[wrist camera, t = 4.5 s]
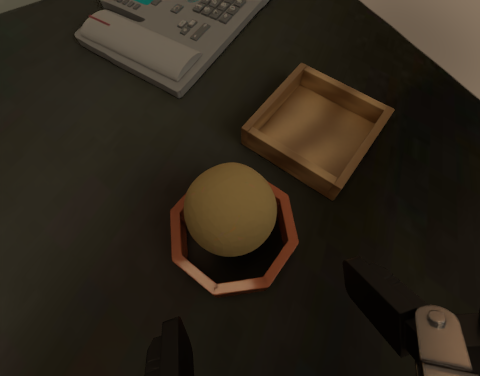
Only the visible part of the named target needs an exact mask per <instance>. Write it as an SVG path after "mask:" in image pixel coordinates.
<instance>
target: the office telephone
mask: <svg viewBox="0 0 480 376" xmlns="http://www.w3.org/2000/svg"><path fill="white" fill-rule="evenodd" d="M100 1H101V4H102V6H103V8H105V10H101V11H98V12H96V13H94V14H93V15H89V18H88V19H87V20H86V21H85V23H84V24H83V26H82V27H81V28H80V29H78V30H77V31H76V32H75V36H76V38H77V40H78V42H79V43H80V45H82V46H83V47H85V48H87V49H89V50H90V51H92V52H94V53H96V54H97V55H99V56H101V57H103V58H105V59H107V60H110V61H111V63H113V64H115V65H117V66H119V67H120V68H122V69H124V70H126V71H128V72H130V73H132V74H134V75H136V76H138V77H139V78H141V79H143V80H145V81H147V82H149V83H151V84H153V85H155V86H157V87H159V88H160V89H162V90H164V91H166V92H168V93H170V94H172V95H173V96H175V97H177V98H181V97H183V96H184V94H185V93H186V92H187V91H188V90H189V89H190V88H191V87H192V86H193V85H194V83H195V82H196V81H197V80H198V79H199V78H200V77H201V76H202V74H203V73H204V72H205V71H206V70H207V69H208V68H209V67H210V65H211V64H212V63H213V62H214V61H215V60H216V59H217V57H218V56H219V55H220V54H221V53H222V52H223V51H224V50H225V48H226V47H227V46H228V45H229V44H230V43H231V42H232V40H233V39H234V38H235V37H236V36H237V35H238V34H239V33H240V31H241V30H242V29H243V28H244V27H245V26H246V25H247V24H248V22H249V21H250V20H251V19H252V18H253V17H254V16H255V15H256V13H257V12H258V11H259V10H260V9H261V8H262V7H264V6H265V5H266V4H267V3H268V1H269V0H100ZM107 9H109V10H107ZM110 10H112V11H114V12H112V11H110ZM115 12H116V13H115ZM117 13H119V14H121V15H119V14H117ZM122 15H124V16H126V17H124V16H122ZM127 17H128V18H127ZM129 18H130V19H129ZM131 19H133V20H131ZM134 20H135V21H134Z"/></svg>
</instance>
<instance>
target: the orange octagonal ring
mask: <svg viewBox="0 0 480 376" xmlns="http://www.w3.org/2000/svg"><path fill="white" fill-rule="evenodd" d="M268 184H269V185H270V187H271V189H272V191H273V193H274V195H275V199H276V203H277V218H278V223H279V228H280V233H281V238H282V243H283V249H282V250H281V252H280V253H279V254H278V256H277V257H276V259H275V260H274V262H273V263H272V264H271V266H270V267H269V269H268V270H267V272H266V273H265V275H264V276H263V277H259V278H252V279H245V280H238V281H231V282H224V283H217V284H216V283H215V282H214V281H213V280H211V279H210V278H209V277H208V276H207V275H205V274H204V273H203V272H202V271H200V270H199V269H198V268H197V267H196V266H194V265H193V264H192V263H191V262H189V261H188V251H187V234H186V222H185V219H184V200H185V196H186V194H185V195H184V196H183V197H182V198H181V199H180V200H179V201H178V202H177V204H176V205H175V206H174V207H173V208H172V209H171V210H170V223H171V252H172V261H173V262H174V263H175V264H176V265H177V266H179V267H180V268H181V269H182V270H183V271H185V272H186V273H187V274H188V275H189V276H191V277H192V278H193V279H194V280H195V281H197V282H198V283H199V284H200V285H201V286H203V287H204V288H205V289H206V290H207V291H208V292H210V293H211V294H212V295H213V296H215V297H217V298H219V297H226V296H233V295H239V294H246V293H253V292H260V291H266V290H267V289H268V288H269V286H270V285H271V283H272V282H273V281H274V279H275V278H276V276H277V275H278V273H279V272H280V270H281V269H282V267H283V266H284V264H285V263H286V261H287V260H288V258H289V257H290V255H291V254H292V252H293V251H294V250H295V248H296V247H297V245H298V243H299V241H298V237H297V232H296V228H295V223H294V219H293V215H292V210H291V206H290V202H289V197H288V195H287V194H286V193H284V192H283V191H281V190H280V189H278V188H276V187H275V186H273V185H272V184H270V183H269V182H268Z"/></svg>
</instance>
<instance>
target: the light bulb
mask: <svg viewBox="0 0 480 376" xmlns="http://www.w3.org/2000/svg"><path fill="white" fill-rule="evenodd" d="M276 216H277V203H276V199H275V195H274V193H273V191H272V189H271V187H270V185H269V184H268V182H267V181H266V180H265V179H264V178H263V177H262V176H261V175H260V174H259V173H258V172H256V171H255V170H254V169H252V168H250V167H248V166H246V165H243V164H240V163H225V164H220V165H217V166H214V167H212V168H210V169H208V170H206V171H205V172H203V173H202V174H201V175H199V176H198V177H197V178H196V179H195V180H194V181H193V183H192V184H191V185H190V187H189V189H188V190H187V193H186V196H185V200H184V219H185V222H186V225H187V228H188V230H189V232H190V234H191V236H192V237H193V238H194V240H195V241H196V242H197V243H198V244H199V245H200V246H201V247H202V248H204V249H205V250H207V251H209V252H211V253H213V254H216V255H219V256H224V257H235V256H240V255H244V254H247V253H249V252H252V251H253V250H255V249H256V248H258V247H259V246H260V245H262V244H263V243H264V241H265V240H266V239H267V238H268V237H269V235H270V233H271V232H272V230H273V228H274V225H275V222H276Z"/></svg>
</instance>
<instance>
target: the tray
mask: <svg viewBox="0 0 480 376" xmlns="http://www.w3.org/2000/svg"><path fill="white" fill-rule="evenodd" d="M394 110H395V109H393V108H391V107H389V106H387V105H385V104H383V103H381V102H379V101H377V100H375V99H373V98H371V97H369V96H367V95H365V94H363V93H361V92H359V91H357V90H355V89H353V88H351V87H349V86H347V85H345V84H343V83H341V82H339V81H337V80H335V79H333V78H331V77H329V76H327V75H325V74H323V73H321V72H319V71H317V70H315V69H313V68H311V67H309V66H307V65H305V64H303V63H300V64H299V65H298V67H297V68H296V69H295V70H294V71H293V72H292V73H291V74H290V75H289V76H288V77H287V79H286V80H285V81H284V82H283V83H282V84H281V85H280V86H279V87H278V88H277V89H276V90H275V92H274V93H273V94H272V95H271V96H270V97H269V98H268V99H267V100H266V101H265V102H264V104H263V105H262V106H261V107H260V108H259V109H258V110H257V111H256V112H255V113H254V114H253V115H252V117H251V118H250V119H249V120H248V121H247V122H246V123H245V124H244V125H243V126H242V127H241V143H242V144H243V145H245V146H246V147H248V148H249V149H251V150H252V151H254V152H256V153H257V154H259V155H260V156H262V157H264V158H265V159H267V160H268V161H270V162H272V163H273V164H275V165H276V166H278V167H279V168H281V169H283V170H284V171H286V172H287V173H289V174H291V175H292V176H294V177H295V178H297V179H298V180H300V181H302V182H303V183H305V184H306V185H308V186H310V187H311V188H313V189H314V190H316V191H317V192H319V193H321V194H322V195H324V196H325V197H327V198H329V199H330V200H332V201H333V200H334V199H335V197H336V196H337V195H338V193H339V192H340V191H341V190H342V188H343V187H344V185H345V184H346V182H347V181H348V179H349V178H350V176H351V175H352V173H353V172H354V170H355V169H356V167H357V166H358V164H359V163H360V161H361V160H362V158H363V157H364V155H365V154H366V152H367V151H368V149H369V148H370V146H371V145H372V143H373V142H374V140H375V139H376V137H377V136H378V134H379V133H380V131H381V130H382V128H383V127H384V125H385V124H386V122H387V121H388V119H389V118H390V116H391V115H392V113H393V112H394Z"/></svg>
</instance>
